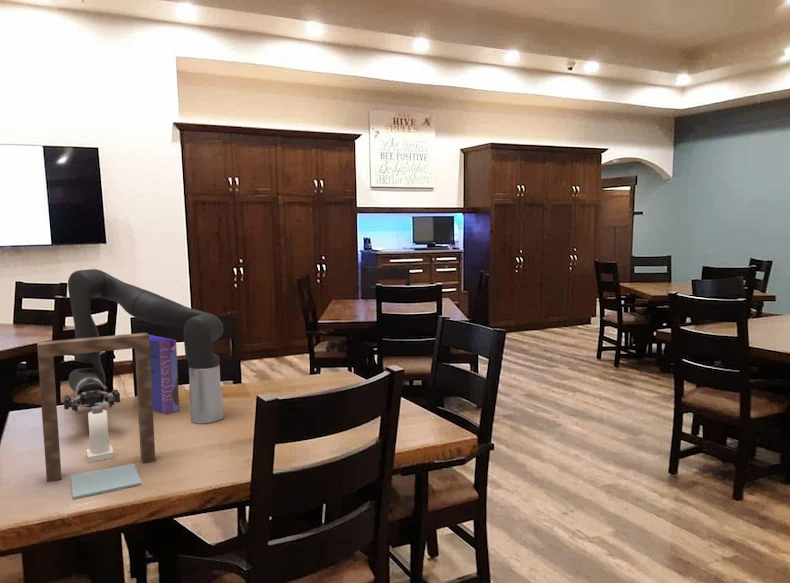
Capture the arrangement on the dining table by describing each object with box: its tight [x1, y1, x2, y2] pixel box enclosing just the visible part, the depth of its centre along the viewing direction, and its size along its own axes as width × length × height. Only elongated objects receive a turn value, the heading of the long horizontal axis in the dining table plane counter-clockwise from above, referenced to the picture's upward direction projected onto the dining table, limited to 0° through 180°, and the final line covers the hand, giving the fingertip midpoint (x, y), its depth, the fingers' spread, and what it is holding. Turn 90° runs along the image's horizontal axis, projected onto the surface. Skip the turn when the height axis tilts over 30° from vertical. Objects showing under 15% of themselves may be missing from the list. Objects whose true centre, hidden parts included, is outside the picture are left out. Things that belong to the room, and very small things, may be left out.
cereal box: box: [149, 334, 180, 415], centre depth 191 cm, size 17×5×24 cm, turn 52°
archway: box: [36, 332, 156, 483], centre depth 141 cm, size 24×4×33 cm, turn 121°
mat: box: [70, 463, 142, 500], centre depth 135 cm, size 14×13×1 cm
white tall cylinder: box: [85, 404, 115, 463], centre depth 150 cm, size 6×6×14 cm
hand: (93, 405), depth 159 cm, fingers open, 8 cm apart
